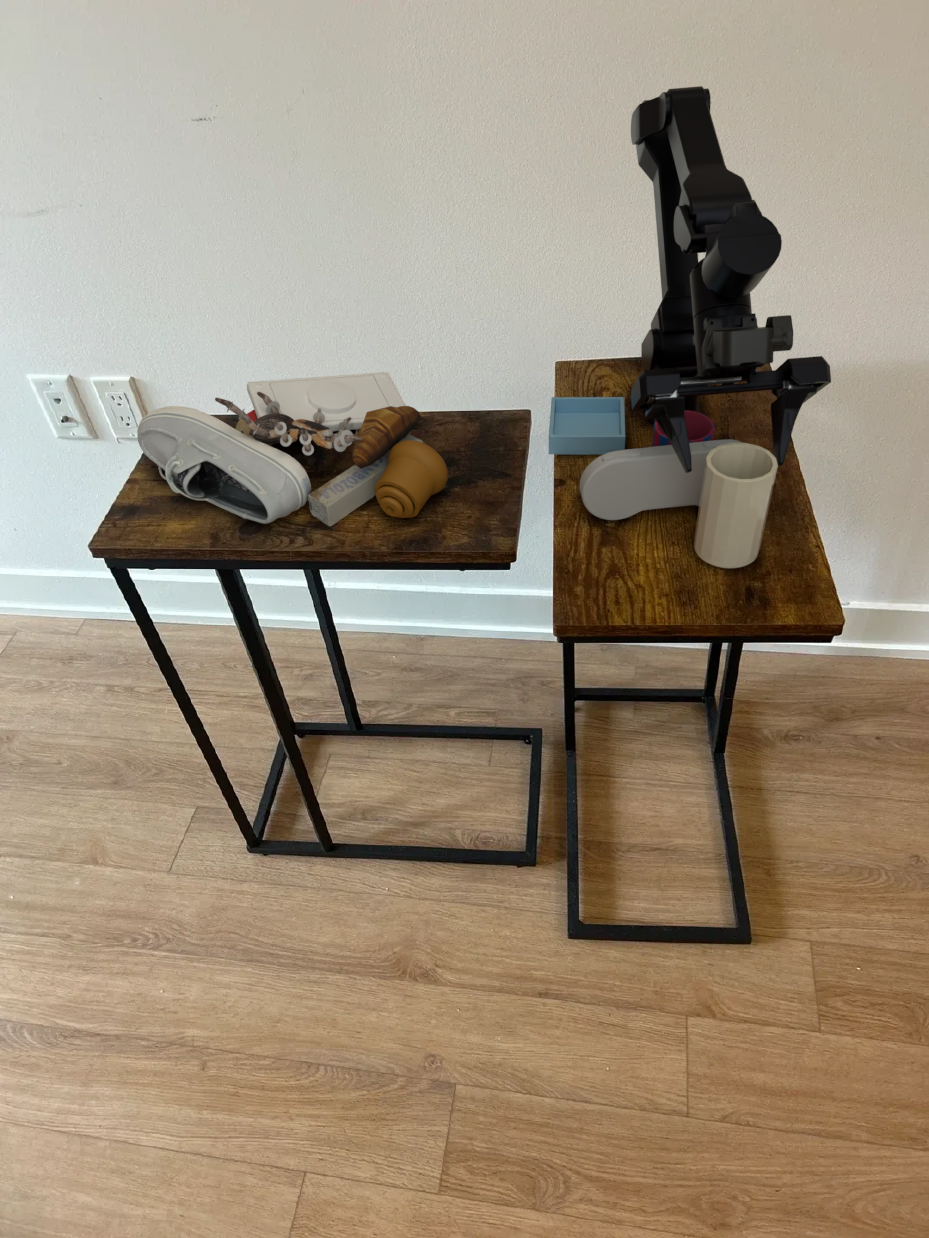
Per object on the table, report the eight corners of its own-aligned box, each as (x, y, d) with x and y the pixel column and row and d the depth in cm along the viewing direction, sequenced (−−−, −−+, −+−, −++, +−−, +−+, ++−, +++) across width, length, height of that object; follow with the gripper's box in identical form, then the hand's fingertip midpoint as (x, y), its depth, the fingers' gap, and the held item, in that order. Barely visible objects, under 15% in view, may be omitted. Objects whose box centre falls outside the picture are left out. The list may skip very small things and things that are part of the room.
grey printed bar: (296, 489, 101) (325, 507, 99) (395, 424, 109) (424, 440, 107) (300, 512, 104) (329, 531, 101) (397, 448, 112) (426, 464, 109)
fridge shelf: (551, 414, 115) (551, 397, 114) (622, 414, 114) (624, 396, 113) (548, 454, 109) (548, 436, 107) (624, 455, 108) (625, 436, 106)
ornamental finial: (383, 435, 102) (436, 436, 98) (409, 483, 107) (460, 485, 103) (349, 483, 98) (402, 486, 94) (378, 530, 104) (429, 535, 99)
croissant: (404, 436, 111) (378, 404, 110) (438, 408, 106) (411, 374, 105) (348, 485, 101) (319, 451, 100) (382, 457, 97) (352, 421, 95)
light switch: (246, 375, 114) (389, 365, 121) (246, 388, 115) (387, 378, 122) (264, 424, 108) (414, 411, 115) (264, 438, 109) (412, 424, 116)
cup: (656, 495, 102) (661, 444, 97) (637, 447, 109) (641, 398, 104) (714, 489, 102) (722, 438, 97) (691, 441, 109) (698, 392, 104)
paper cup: (691, 527, 97) (703, 442, 89) (754, 528, 96) (772, 442, 88) (696, 567, 92) (709, 481, 85) (762, 569, 91) (782, 481, 84)
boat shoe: (156, 445, 113) (105, 474, 107) (150, 383, 107) (96, 410, 101) (313, 527, 107) (268, 563, 101) (317, 467, 101) (269, 501, 95)
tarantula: (394, 425, 110) (386, 464, 112) (266, 387, 112) (259, 426, 114) (352, 440, 95) (343, 484, 97) (204, 396, 97) (198, 440, 99)
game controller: (747, 494, 101) (759, 431, 95) (753, 506, 99) (766, 443, 93) (577, 512, 100) (579, 450, 95) (581, 524, 99) (583, 462, 93)
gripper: (644, 292, 82) (657, 460, 81) (847, 276, 81) (861, 444, 81) (625, 333, 93) (636, 481, 92) (803, 319, 92) (815, 467, 92)
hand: (734, 468), depth 89 cm, fingers open, 9 cm apart
